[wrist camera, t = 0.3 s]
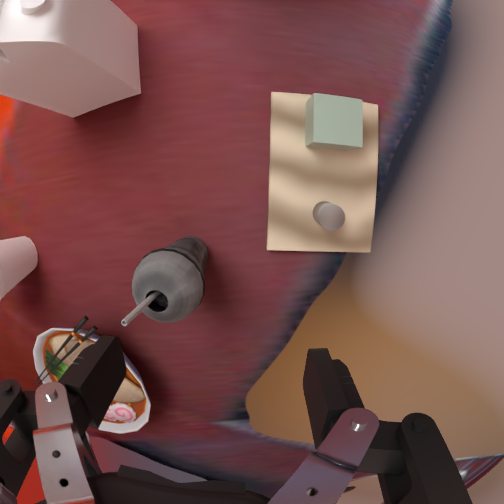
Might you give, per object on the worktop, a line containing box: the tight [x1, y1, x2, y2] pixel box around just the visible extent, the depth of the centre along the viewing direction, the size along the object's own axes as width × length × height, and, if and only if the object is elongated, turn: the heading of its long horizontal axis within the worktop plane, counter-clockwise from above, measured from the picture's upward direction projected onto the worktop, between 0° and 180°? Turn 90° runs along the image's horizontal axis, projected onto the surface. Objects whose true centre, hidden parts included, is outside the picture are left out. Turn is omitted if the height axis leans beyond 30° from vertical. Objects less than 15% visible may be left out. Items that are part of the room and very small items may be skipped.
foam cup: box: [0, 236, 38, 300], centre depth 32 cm, size 10×9×13 cm
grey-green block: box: [305, 93, 363, 150], centre depth 30 cm, size 6×6×5 cm
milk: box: [0, 0, 141, 118], centre depth 19 cm, size 12×12×26 cm
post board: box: [267, 92, 378, 253], centre depth 33 cm, size 20×14×6 cm
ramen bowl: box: [33, 316, 151, 434], centre depth 40 cm, size 25×23×8 cm
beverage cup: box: [121, 236, 208, 326], centre depth 29 cm, size 7×7×20 cm
